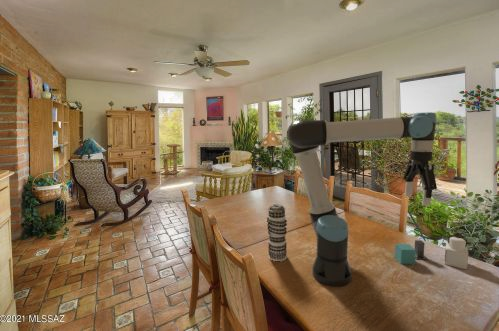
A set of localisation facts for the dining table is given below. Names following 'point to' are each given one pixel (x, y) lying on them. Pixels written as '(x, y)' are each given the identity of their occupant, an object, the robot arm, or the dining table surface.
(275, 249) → the model tower building
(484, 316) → the dining table surface
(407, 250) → the teal cube
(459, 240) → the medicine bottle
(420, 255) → the dark grey upright block
